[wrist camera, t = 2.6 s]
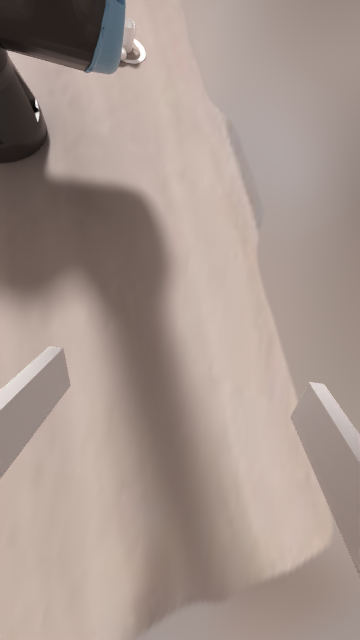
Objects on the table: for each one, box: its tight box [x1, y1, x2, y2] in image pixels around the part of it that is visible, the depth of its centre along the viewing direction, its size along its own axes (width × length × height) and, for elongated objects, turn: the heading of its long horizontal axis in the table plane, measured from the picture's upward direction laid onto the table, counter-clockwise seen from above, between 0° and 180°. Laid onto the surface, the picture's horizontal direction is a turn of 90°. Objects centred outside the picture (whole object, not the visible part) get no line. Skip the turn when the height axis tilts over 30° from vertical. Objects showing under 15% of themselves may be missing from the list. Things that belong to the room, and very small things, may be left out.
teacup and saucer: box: [120, 17, 146, 64], centre depth 43 cm, size 9×8×4 cm
